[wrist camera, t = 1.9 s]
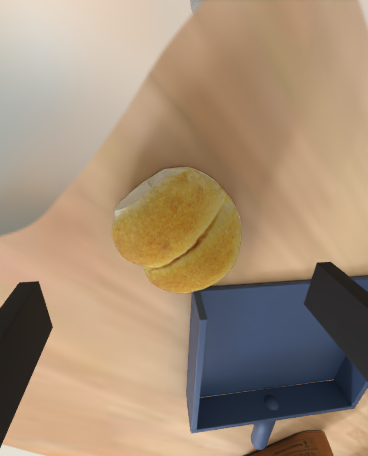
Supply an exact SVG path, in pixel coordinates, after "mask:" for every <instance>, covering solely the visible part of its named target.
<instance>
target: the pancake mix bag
mask: <svg viewBox="0 0 368 456" xmlns="http://www.w3.org/2000/svg"><path fill="white" fill-rule="evenodd" d="M248 456H333V453H332V450H331V448H330V445H329V442H328V440H327V437H326V435H325V432H324V431H304V432H300V433H297V434H295V435H293V436H291V437H289V438H286V439H284V440H282V441H280V442H278V443H275V444H273V445H271V446H269V447H267V448H264V449H263V450H260V451H258V452H255V453H253V454H250V455H248Z"/></svg>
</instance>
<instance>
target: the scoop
mask: <svg viewBox="0 0 368 456" xmlns="http://www.w3.org/2000/svg"><path fill="white" fill-rule="evenodd" d="M350 278H351V279H352V280H354V281H355V282H356V283H357V284H359V285H360V286H361V287H362V288H364V289H365V290H366V291H367V292H368V276H358V277H350ZM310 283H311V280H302V281H288V282H273V283H259V284H245V285H231V286H217V287H207V288H205V289H202V290H198V291H194V292H192V301H191V320H190V338H189V357H188V375H187V394H186V396H187V407H188V415H189V423H190V430H191V433H197V432H204V431H210V430H217V429H223V428H230V427H236V426H243V425H249V424H254V428H253V431H252V434H251V441H252V444H253V446H254V447H255V448H256V449H258V450H263V449H264V448H265V447H266V445H267V442H268V440H269V437H270V434H271V432H272V429H273V427H274V424H275V421H276V420H282V419H289V418H295V417H302V416H308V415H315V414H321V413H328V412H334V411H341V410H347V409H354V408H355V407H356V405H357V404H358V402H359V400H360V399H361V397H362V396H363V394H364V393H365V391H366V389H367V388H368V382H367V380H366V379H365V378H364V377H363V376H362V374H361V373H360V372H359V371H358V370H357V368H356V367H355V366H354V365H353V363H352V362H351V361H350V360H349V359H348V357H347V356H346V355H345V354H344V353H343V351H342V350H341V349H340V348H339V346H338V345H337V344H336V343H335V342H334V340H333V339H332V338H331V337H330V335H329V334H328V333H327V332H326V331H325V329H324V328H323V327H322V326H321V325H320V323H319V322H318V321H317V320H316V318H315V317H314V316H313V315H312V314H311V312H310V311H309V310H308V309H307V308H306V306H305V305H304V301H305V298H306V295H307V292H308V289H309V286H310ZM326 380H330V381H326ZM319 381H323V382H319ZM311 382H315V383H311ZM304 383H308V384H304ZM296 384H300V385H296ZM289 385H293V386H289ZM281 386H285V387H281ZM274 387H278V388H274ZM266 388H270V389H266ZM259 389H263V390H259ZM251 390H255V391H251ZM244 391H248V392H244ZM236 392H240V393H236ZM229 393H233V394H229ZM221 394H226V395H221ZM214 395H218V396H214ZM206 396H211V397H206ZM200 397H203V398H200Z"/></svg>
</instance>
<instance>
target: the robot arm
mask: <svg viewBox="0 0 368 456" xmlns="http://www.w3.org/2000/svg"><path fill="white" fill-rule="evenodd" d="M304 305H305V306H306V308H307V309H308V310H309V311H310V312H311V314H312V315H313V316H314V317H315V318H316V320H317V321H318V322H319V323H320V325H321V326H322V327H323V328H324V329H325V331H326V332H327V333H328V334H329V335H330V337H331V338H332V339H333V340H334V342H335V343H336V344H337V345H338V346H339V348H340V349H341V350H342V351H343V353H344V354H345V355H346V356H347V357H348V359H349V360H350V361H351V362H352V363H353V365H354V366H355V367H356V368H357V370H358V371H359V372H360V373H361V374H362V376H363V377H364V378H365V379H366V380H367V382H368V292H367V291H366V290H365V289H364V288H362V287H361V286H360V285H359V284H357V283H356V282H355V281H354V280H352V279H351V278H350V277H349V276H348V275H346V274H345V273H344V272H343V271H341V270H340V269H339V268H338V267H336V266H335V265H334V264H333V263H331V262H321V263H317V264H316V268H315V271H314V274H313V277H312V280H311V283H310V286H309V289H308V292H307V295H306V298H305V301H304ZM52 328H53V326H52V323H51V320H50V317H49V313H48V310H47V307H46V304H45V300H44V297H43V294H42V291H41V287H40V284H39V281H36V282H22V283H19V284H18V285H17V286H16V288H15V289H14V290H13V292H12V293H11V294H10V296H9V297H8V298H7V300H6V301H5V302H4V304H3V305H2V306H1V308H0V447H1V445H2V443H3V440H4V438H5V436H6V433H7V431H8V429H9V427H10V424H11V422H12V420H13V417H14V415H15V413H16V410H17V408H18V406H19V404H20V401H21V399H22V397H23V394H24V392H25V390H26V387H27V385H28V383H29V381H30V378H31V376H32V374H33V371H34V369H35V367H36V365H37V362H38V360H39V358H40V355H41V353H42V351H43V348H44V346H45V344H46V342H47V339H48V337H49V335H50V332H51V330H52Z"/></svg>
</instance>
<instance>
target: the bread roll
mask: <svg viewBox="0 0 368 456" xmlns="http://www.w3.org/2000/svg"><path fill="white" fill-rule="evenodd" d="M114 212H115V218H114V222H113V226H112V236H113V240H114V242H115V245H116V247H117V249H118V251H119V252H120V254H121V255H122V256H123V257H124V258H125V259H127V260H128V261H131V262H133V263H136V264H139V265H143V266H144V270H145V273H146V275H147V277H148V278H149V280H150V281H151V282H152V283H153V284H154V285H156V286H157V287H159V288H161V289H163V290H166V291H169V292H174V293H189V292H194V291H198V290H202V289H205V288H207V287H209V286H211V285H213V284H215V283H216V282H218V281H219V280H221V279H222V278H223V277H224V276H225V275H226V274H227V273H228V272H229V271H230V269H231V268H232V266H233V265H234V263H235V261H236V258H237V256H238V252H239V248H240V244H241V220H240V216H239V213H238V210H237V208H236V206H235V204H234V202H233V200H232V199H231V198H230V197H229V196H228V195H227V193H226V192H225V191H224V189H223V188H222V187H221V186H220V185H219V184H218V183H217V182H216V181H215V180H214V179H213V178H211V177H210V176H208V175H207V174H205V173H203V172H201V171H198V170H196V169H194V168H190V167H177V168H171V169H170V168H167V169H164V170H162V171H160V172H158V173H156V174H155V175H153V176H152V177H150V178H148V179H147V180H145V181H144V182H142V183H141V184H140V185H139V186H138V187H137V188H135V189H134V190H133V191H132V192H130V194H129V195H127V196H126V197H125V198H124V199H122V200H121V201H120V203H119V204H118V206H117V207H115V210H114Z"/></svg>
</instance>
